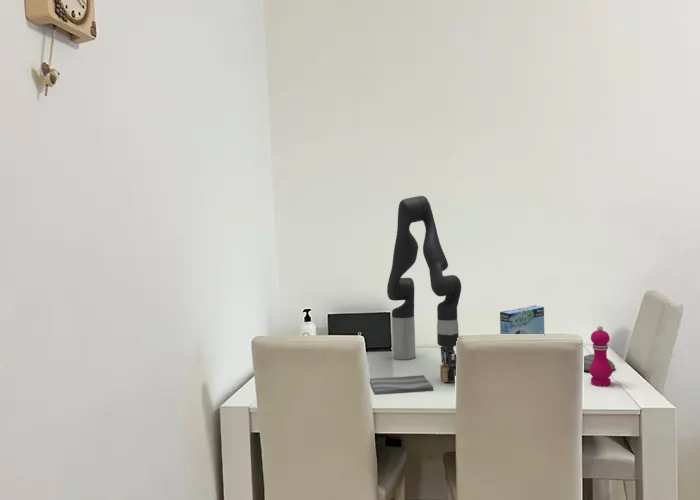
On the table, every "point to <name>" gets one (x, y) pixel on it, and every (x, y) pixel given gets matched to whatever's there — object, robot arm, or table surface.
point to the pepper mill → (600, 358)
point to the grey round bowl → (588, 361)
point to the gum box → (522, 321)
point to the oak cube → (445, 373)
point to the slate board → (400, 384)
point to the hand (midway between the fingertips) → (449, 378)
